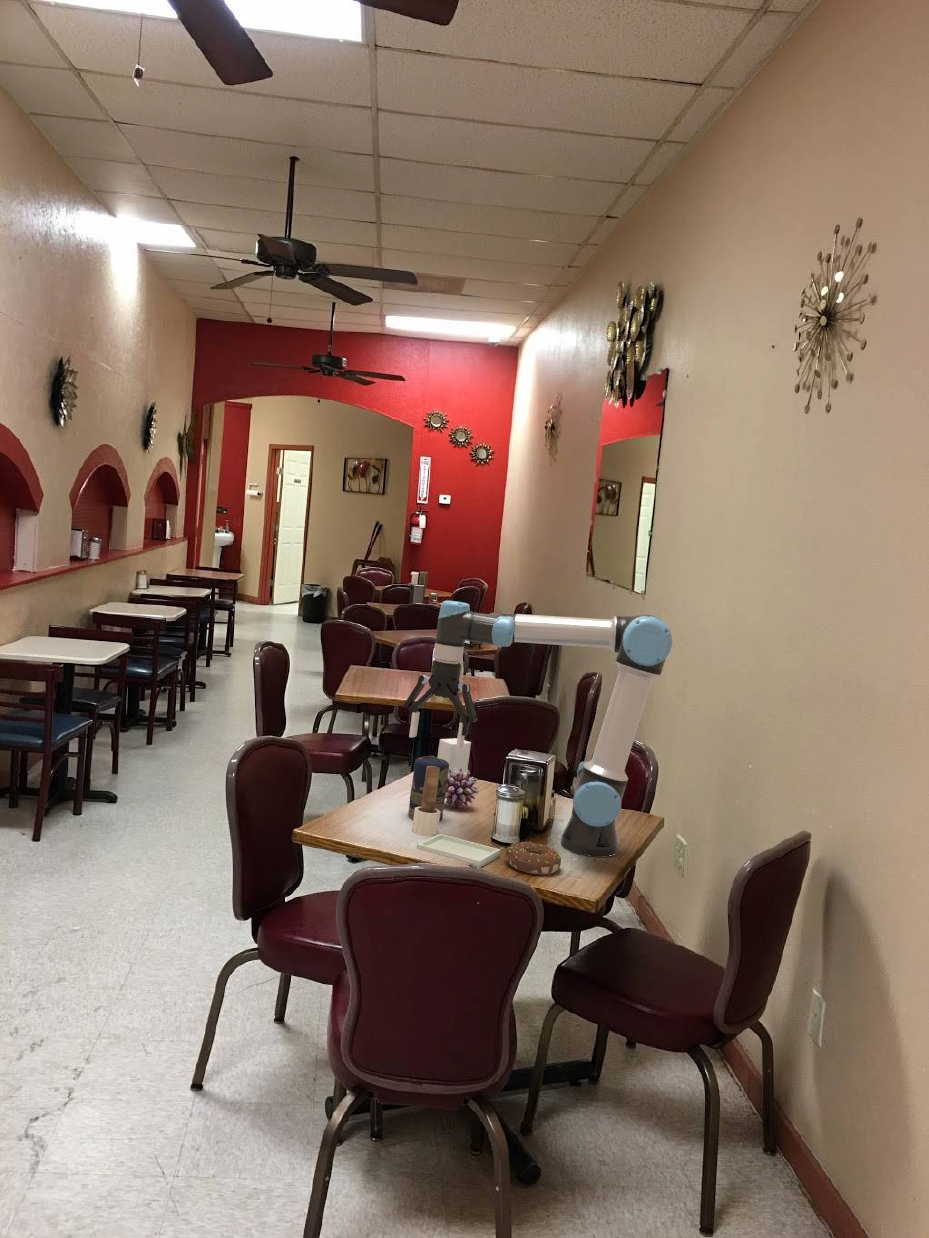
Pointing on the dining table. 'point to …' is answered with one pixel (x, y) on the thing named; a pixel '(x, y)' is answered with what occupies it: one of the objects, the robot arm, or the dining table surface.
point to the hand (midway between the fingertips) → (435, 742)
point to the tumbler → (426, 822)
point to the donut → (533, 858)
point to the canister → (420, 780)
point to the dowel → (430, 789)
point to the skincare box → (454, 754)
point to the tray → (460, 850)
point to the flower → (460, 788)
